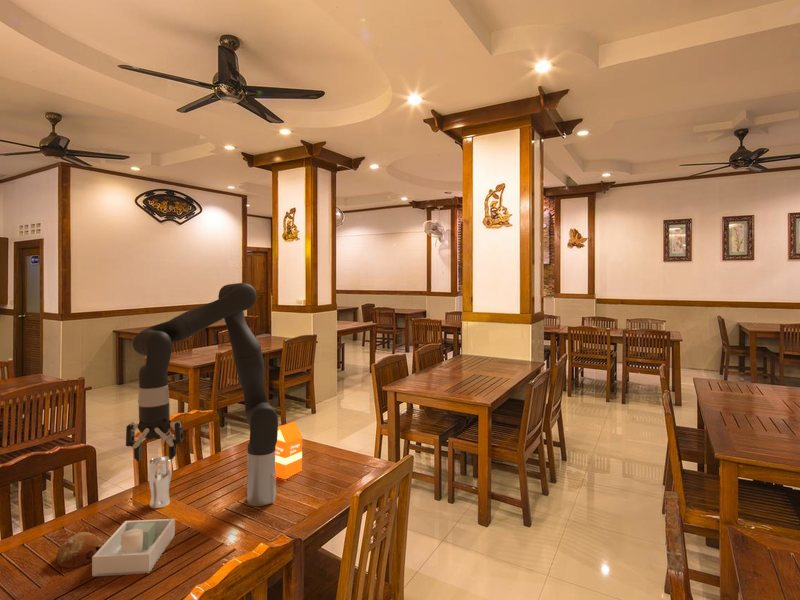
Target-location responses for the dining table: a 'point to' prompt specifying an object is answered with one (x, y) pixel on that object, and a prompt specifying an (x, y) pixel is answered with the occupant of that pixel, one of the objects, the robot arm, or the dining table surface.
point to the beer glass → (159, 481)
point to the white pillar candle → (132, 541)
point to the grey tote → (116, 563)
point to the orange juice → (288, 451)
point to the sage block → (147, 533)
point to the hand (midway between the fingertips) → (155, 459)
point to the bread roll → (78, 550)
